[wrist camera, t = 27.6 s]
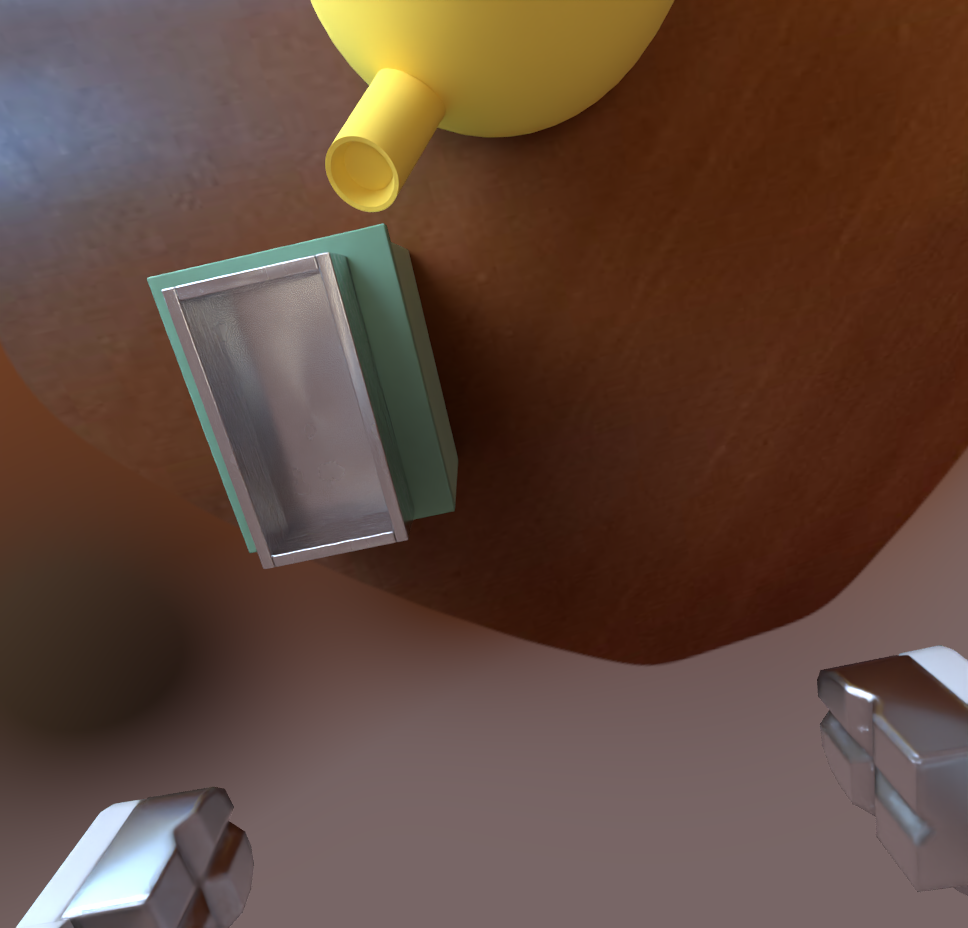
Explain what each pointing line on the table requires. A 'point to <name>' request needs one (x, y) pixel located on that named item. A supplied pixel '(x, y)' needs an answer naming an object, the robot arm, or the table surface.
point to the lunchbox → (427, 361)
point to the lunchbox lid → (389, 347)
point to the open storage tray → (296, 406)
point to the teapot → (470, 74)
